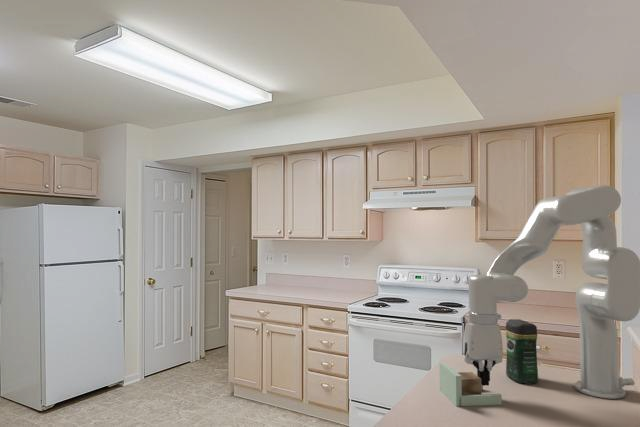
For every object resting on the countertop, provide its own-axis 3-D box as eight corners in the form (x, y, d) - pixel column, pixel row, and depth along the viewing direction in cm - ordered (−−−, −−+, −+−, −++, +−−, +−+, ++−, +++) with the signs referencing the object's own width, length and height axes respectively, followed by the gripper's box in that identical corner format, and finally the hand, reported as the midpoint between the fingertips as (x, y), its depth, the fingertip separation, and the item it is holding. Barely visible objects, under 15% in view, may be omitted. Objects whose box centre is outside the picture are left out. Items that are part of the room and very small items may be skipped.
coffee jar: (542, 384, 136) (541, 323, 137) (518, 385, 135) (517, 323, 136) (525, 374, 146) (524, 317, 146) (502, 374, 145) (501, 317, 146)
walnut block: (472, 393, 128) (471, 372, 129) (481, 400, 123) (481, 378, 123) (452, 393, 128) (451, 372, 128) (460, 401, 122) (460, 379, 122)
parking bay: (481, 388, 132) (481, 361, 132) (501, 404, 120) (501, 374, 120) (439, 390, 131) (439, 362, 131) (456, 406, 119) (456, 375, 119)
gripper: (501, 315, 131) (502, 378, 130) (452, 316, 130) (452, 380, 129) (514, 321, 124) (515, 387, 123) (463, 321, 122) (463, 389, 121)
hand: (483, 383), depth 126 cm, fingers closed
